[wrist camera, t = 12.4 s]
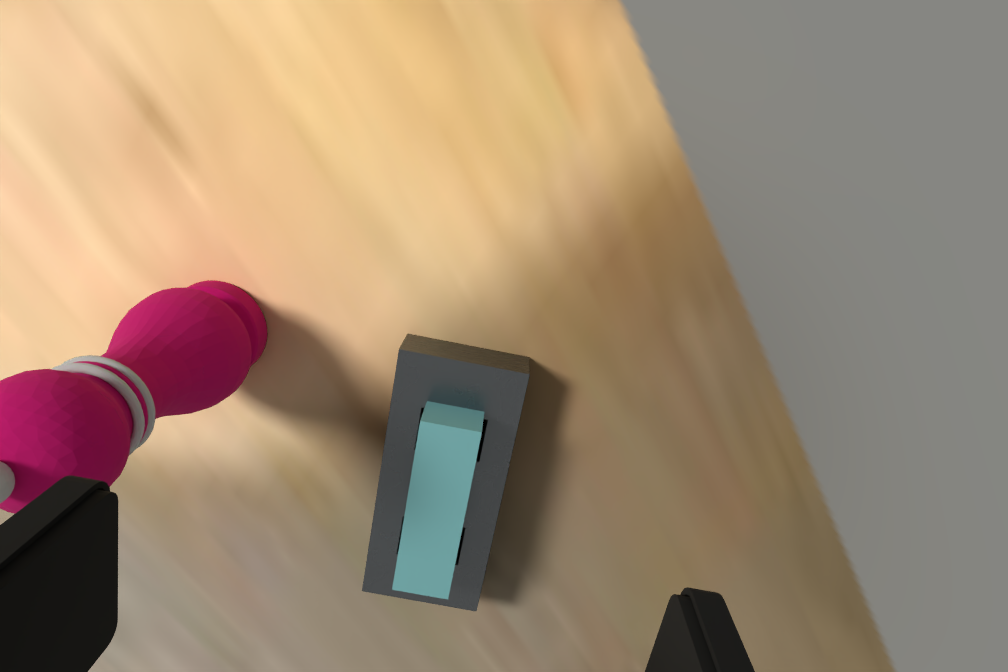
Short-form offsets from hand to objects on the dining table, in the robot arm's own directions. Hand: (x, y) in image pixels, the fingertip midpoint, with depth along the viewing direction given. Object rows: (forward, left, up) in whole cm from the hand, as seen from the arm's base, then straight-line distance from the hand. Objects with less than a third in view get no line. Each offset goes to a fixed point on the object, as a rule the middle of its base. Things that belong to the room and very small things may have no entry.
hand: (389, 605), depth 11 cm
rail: (+15, 0, -30) cm, 34 cm away
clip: (+15, 0, -30) cm, 34 cm away
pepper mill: (+8, -16, -31) cm, 35 cm away
